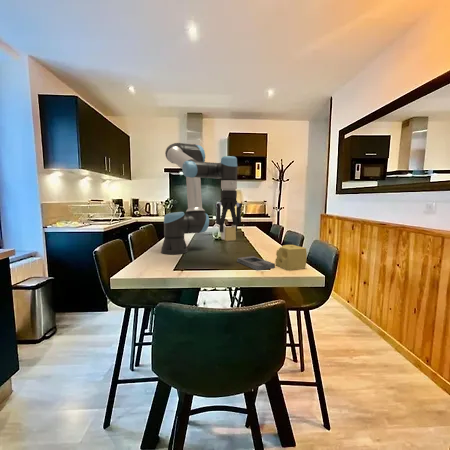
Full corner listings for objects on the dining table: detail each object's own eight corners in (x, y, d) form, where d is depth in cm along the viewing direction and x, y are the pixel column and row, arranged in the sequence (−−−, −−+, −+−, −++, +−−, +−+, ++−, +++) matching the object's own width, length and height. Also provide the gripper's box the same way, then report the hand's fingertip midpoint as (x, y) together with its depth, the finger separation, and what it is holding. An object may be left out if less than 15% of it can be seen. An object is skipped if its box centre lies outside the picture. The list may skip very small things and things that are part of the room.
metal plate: (236, 261, 142) (237, 257, 142) (253, 259, 146) (253, 255, 146) (257, 270, 126) (257, 265, 126) (274, 267, 131) (274, 263, 130)
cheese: (275, 265, 135) (275, 245, 134) (293, 263, 140) (294, 244, 138) (287, 271, 126) (288, 249, 125) (307, 268, 130) (307, 247, 129)
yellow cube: (221, 239, 134) (221, 226, 134) (230, 238, 137) (230, 226, 136) (226, 240, 130) (226, 227, 130) (235, 240, 132) (235, 227, 132)
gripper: (214, 189, 124) (214, 241, 126) (249, 190, 132) (248, 238, 134) (208, 189, 130) (208, 238, 133) (241, 190, 139) (240, 236, 141)
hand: (228, 238), depth 134 cm, fingers closed on yellow cube, 5 cm apart
